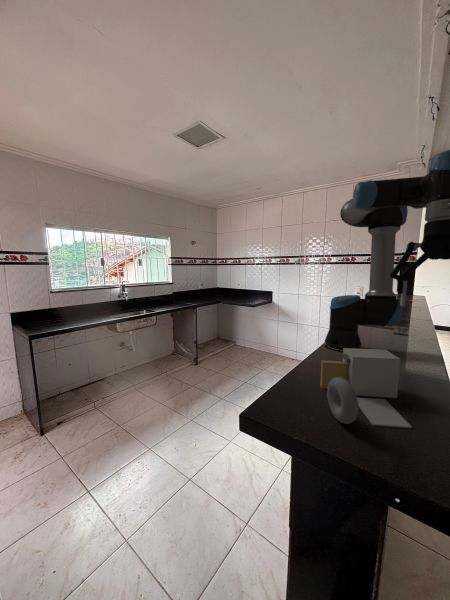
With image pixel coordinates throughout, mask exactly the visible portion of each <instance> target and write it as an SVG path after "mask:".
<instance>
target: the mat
mask: <svg viewBox="0 0 450 600" xmlns="http://www.w3.org/2000/svg"><path fill="white" fill-rule="evenodd" d="M357 400H358V408H359V409H360V410H361V411H362V413H363V414H364V416H365V417H366V418H367V420H368V421H369V423H370V424H371V425H372V426H375V427H385V428H387V427H388V428H400V429H412V428H413V427H412V425H411V424H410V423H409V422H407V420H406V418H404V417H403V416H402V415H401V414H400V413H399V412H398V411H397V410H396V409H395V408H394V407H393V406H392V405H391V404H390V403H389V401H387V400H386V399H383V398H369V397H357Z"/></svg>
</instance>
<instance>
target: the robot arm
mask: <svg viewBox="0 0 450 600" xmlns="http://www.w3.org/2000/svg"><path fill="white" fill-rule="evenodd" d="M430 159H431V160H430V163H429V167H428V173H427V174H426V175H422V176H412V177H402V178H391V179H378V180H372V179H371V180H366V181H360V182H357V183H356V185H355V186H354V189H353V193H352V198H351V199H349V200H347V201H346V202H345V203H344V204H343V205H342V206H341V209H340V212H339V214H340V219H341V221H343V222H344V224H347V225H348V226H351V227H355V228H367V232H368V233H369V234H370V235H371V245H370V265H369V267H370V269H369V282H368V284H369V289H368V291H367V292H366V293H365V294H364V298H362V297H361V295H359V294H358V295H357V294H350V295H349V294H347V295H339V296H334V297H333V298H331V300H330V306H329V312H330V313H329V329H328V331H327V334H326V335H325V339H324V343H325V342H326V346H329V347H331V348H334V349H339V350H343V348H355V349H362V341H361V338H360V334H359V326H367V327H369V326H370V327H371V326H372V327H381V328H384V327H385V328H386V327H394V326H397V324H398V323H399V321H400V320H401V316H402V313H403V307H406V302H407V301H406V300H407V292H408V291H407V290H408V288H407V287H408V280H405V279H407V278H408V277H409V276H411V274H412V273H413V272H414V271H416V270H417V269H418V268H419V267H420V266H421V265H422V264H423V263H425V262H426V261H427V260H428V259H429V260H432V261H433V260H436V261H437V260H445V261H446V260H450V149H447V150H444V151H441V152H439V153H437V154H435V155H434V156H433V157H432V158H430ZM408 207H410V208H412V209H424V208H425V215H424V221H425V222H426V223H425V224H424V227H423V235H422V236H423V237H422V241H421V242H414V241H409V242H408V243H407V245H406V249H405V252H404V253H403V255H402V256H401V258H400V259H399V260H398V262H397V264H396V265H395V255H396V254H395V252H396V237H397V236H396V235H397V233H398V232H400V231H401V227H402V226H404V225H405V224H406V222H407V217H408V213H409V212H408V210H409V209H408ZM418 248H420V250H421V251H422V252H423V253H422V254H421V255H420V256H419V257H418V258H417V259H416V260H415V261H414V262H413V263H411V265H410V266H408V267H407V268H406V269H405V270H403V269H402V268H403V267H404V266H405V264H406V262H407V261H409V258H410V257H411V256H412V254H413V252H416V251H417V250H418ZM401 270H403V272H402V273H401V274H400V275H399V273H400V272H401ZM394 280H396V281H397V282H396V283H397V284H396V292H397V293H398V294H400V299H398V298H397V297H398V296H397V293H395V292H394V291H393V290H394V289H393V288H394Z"/></svg>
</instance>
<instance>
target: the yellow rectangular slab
mask: <svg viewBox="0 0 450 600" xmlns="http://www.w3.org/2000/svg"><path fill="white" fill-rule="evenodd" d="M320 366H321V368H320V385H319V386H320V388H321V389H326V390H327V389H328V385H329V382H330V381H331V380H332V379H333V378H337V377H341V378H343V379H345V380H347V381H348V370H349V363H347V362H343V360H342V361H341V360H340V361H339V360H321V363H320Z"/></svg>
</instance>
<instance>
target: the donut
mask: <svg viewBox="0 0 450 600" xmlns="http://www.w3.org/2000/svg"><path fill="white" fill-rule="evenodd" d="M326 394H327V395H326V396H327V402H328V405H329V409H330V411H331V413H332V415H333V417H335V419H336V421H338V422H340V423H341V424H347V425H350V424H352V423H354V422H355V421H356V419H357V417H358V416H359V415H358V413H359V406H358V400H357V398H358V396H357V395H356V393H355V391H354V389H353V387H352V385H351V384H350V383H349V382H348V381H347V380H345V379H343V378H341V377H337V378H333V379H332V380H331V381H330V382H329V385H328V389H326Z"/></svg>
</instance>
